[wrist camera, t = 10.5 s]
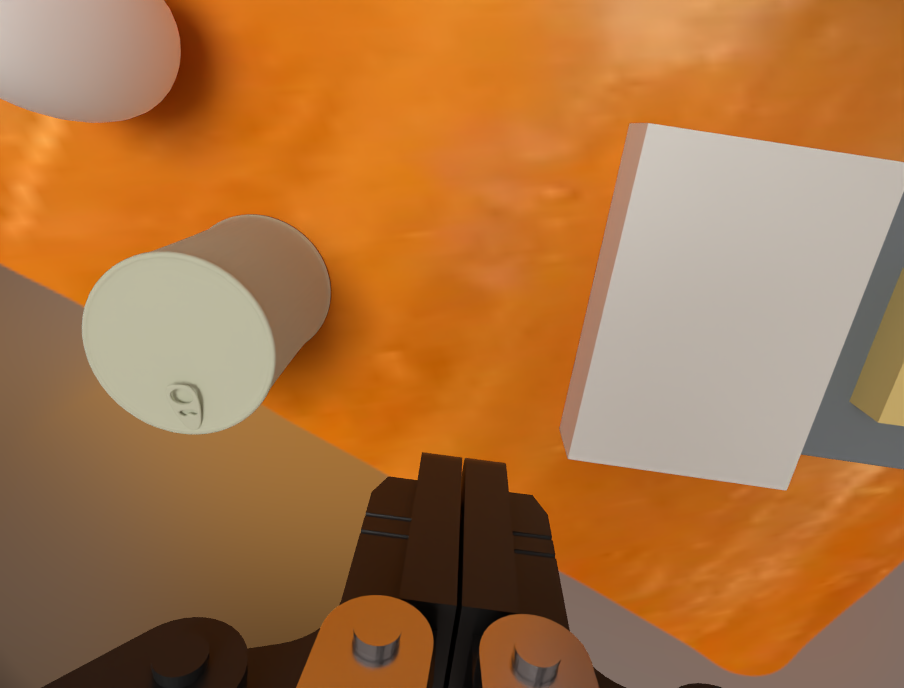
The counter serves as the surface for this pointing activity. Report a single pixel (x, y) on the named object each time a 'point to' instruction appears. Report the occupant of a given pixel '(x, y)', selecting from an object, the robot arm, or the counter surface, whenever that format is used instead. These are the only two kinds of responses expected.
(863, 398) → the yellow block
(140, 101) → the white bulb air blower
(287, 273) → the can
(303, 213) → the counter surface
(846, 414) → the tray
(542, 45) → the counter surface
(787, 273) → the white flat block
